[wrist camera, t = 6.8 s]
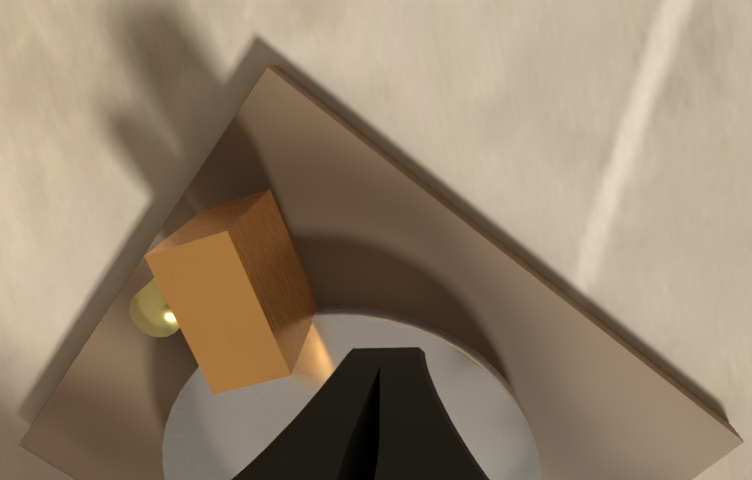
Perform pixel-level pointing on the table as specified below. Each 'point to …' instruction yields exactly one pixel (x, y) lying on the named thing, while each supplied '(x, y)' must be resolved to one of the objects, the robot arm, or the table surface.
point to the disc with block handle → (297, 350)
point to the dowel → (152, 312)
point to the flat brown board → (385, 291)
